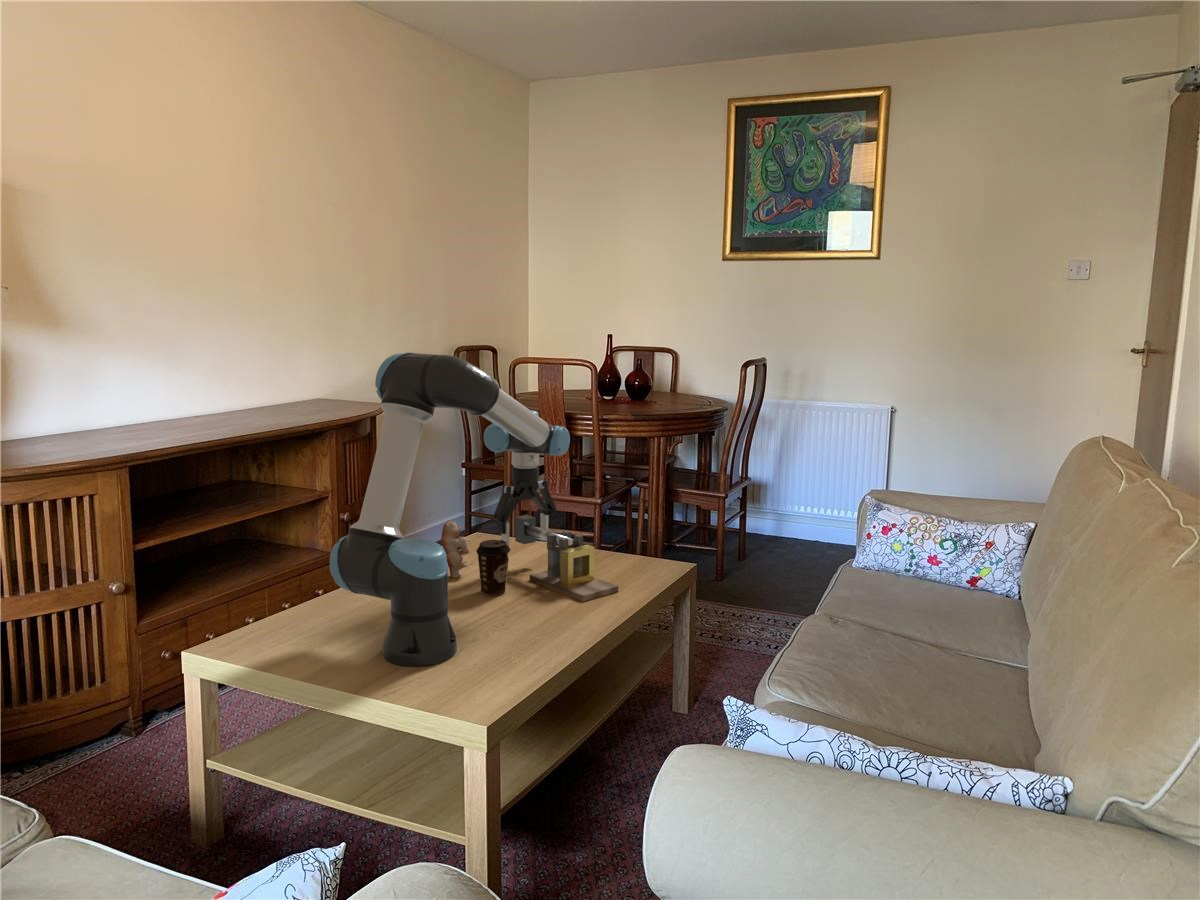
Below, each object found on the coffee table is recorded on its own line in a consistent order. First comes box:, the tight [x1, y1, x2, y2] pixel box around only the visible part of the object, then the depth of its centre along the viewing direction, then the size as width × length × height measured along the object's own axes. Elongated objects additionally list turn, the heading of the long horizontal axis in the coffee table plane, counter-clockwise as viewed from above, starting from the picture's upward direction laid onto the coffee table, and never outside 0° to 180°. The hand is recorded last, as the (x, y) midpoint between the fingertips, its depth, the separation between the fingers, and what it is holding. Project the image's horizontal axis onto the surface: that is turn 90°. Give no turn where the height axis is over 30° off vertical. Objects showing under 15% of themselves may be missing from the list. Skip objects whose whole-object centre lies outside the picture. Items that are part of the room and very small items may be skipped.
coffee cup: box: [476, 539, 511, 597], centre depth 215 cm, size 9×8×13 cm
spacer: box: [561, 544, 596, 587], centre depth 220 cm, size 9×3×9 cm, turn 132°
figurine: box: [441, 519, 470, 579], centre depth 228 cm, size 6×8×15 cm
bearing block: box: [529, 530, 619, 603], centre depth 221 cm, size 12×22×13 cm, turn 42°
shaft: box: [514, 514, 576, 549], centre depth 229 cm, size 4×22×7 cm, turn 42°
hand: (525, 540), depth 236 cm, fingers open, 13 cm apart
